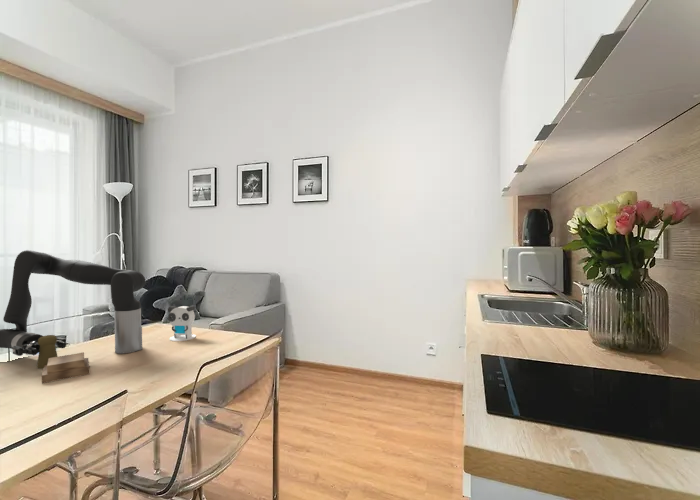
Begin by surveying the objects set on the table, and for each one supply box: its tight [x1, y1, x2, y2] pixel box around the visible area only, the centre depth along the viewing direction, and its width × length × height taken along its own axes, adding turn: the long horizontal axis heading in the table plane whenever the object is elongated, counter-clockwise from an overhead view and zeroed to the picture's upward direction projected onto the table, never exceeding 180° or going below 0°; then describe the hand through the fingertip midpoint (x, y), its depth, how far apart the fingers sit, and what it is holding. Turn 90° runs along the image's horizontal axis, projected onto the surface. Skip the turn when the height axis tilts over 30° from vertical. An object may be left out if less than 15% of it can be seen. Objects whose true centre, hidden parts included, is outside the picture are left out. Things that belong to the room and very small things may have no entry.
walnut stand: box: [41, 352, 90, 384], centre depth 116 cm, size 12×12×5 cm
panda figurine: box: [167, 305, 197, 342], centre depth 159 cm, size 12×11×15 cm
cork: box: [36, 334, 58, 370], centre depth 123 cm, size 6×6×11 cm
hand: (50, 348), depth 122 cm, fingers open, 8 cm apart
